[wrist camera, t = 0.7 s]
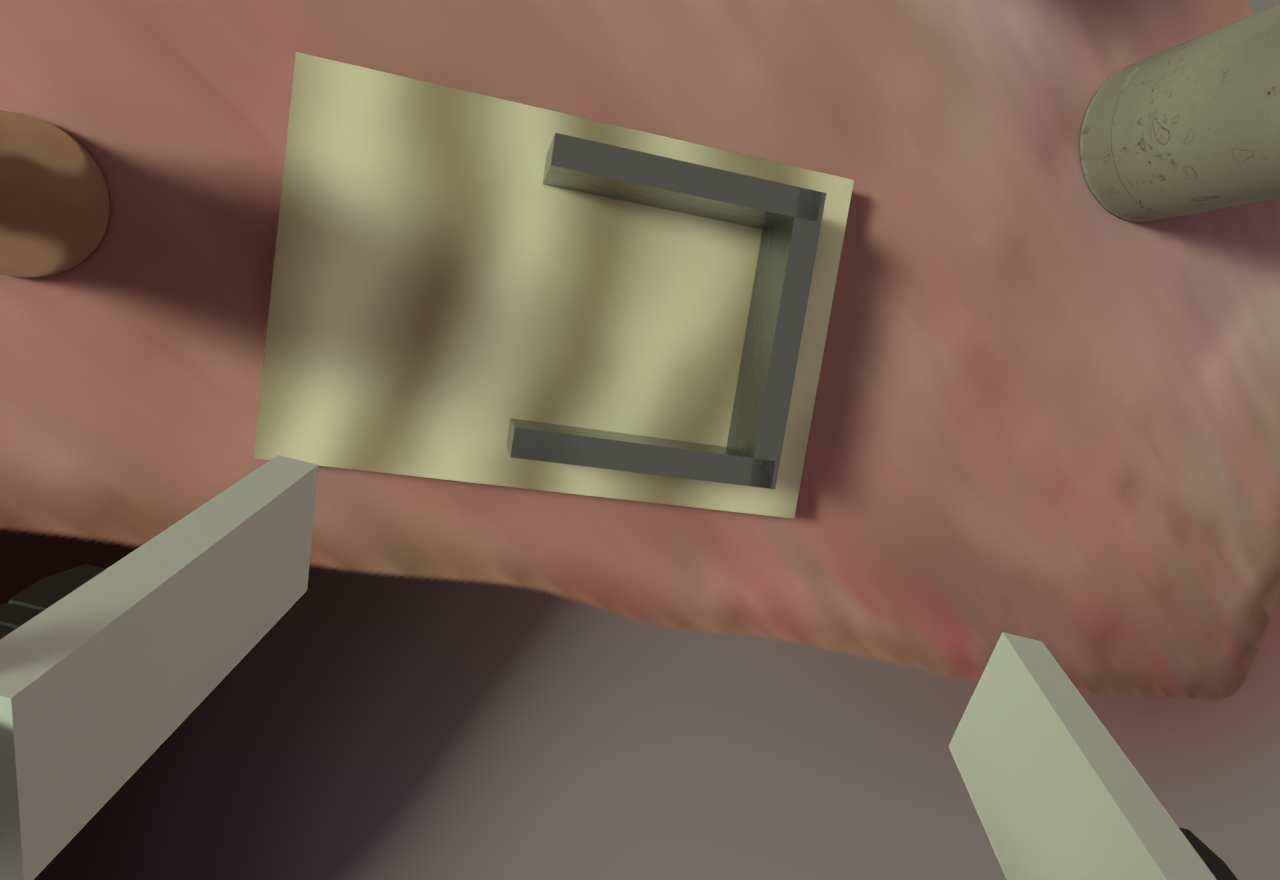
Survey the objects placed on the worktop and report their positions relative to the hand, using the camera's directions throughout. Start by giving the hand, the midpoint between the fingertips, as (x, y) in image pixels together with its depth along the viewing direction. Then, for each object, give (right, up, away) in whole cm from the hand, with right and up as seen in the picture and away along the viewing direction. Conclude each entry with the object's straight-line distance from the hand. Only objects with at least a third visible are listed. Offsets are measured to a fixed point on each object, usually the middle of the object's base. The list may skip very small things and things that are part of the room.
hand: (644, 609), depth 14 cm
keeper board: (-3, +9, +20) cm, 22 cm away
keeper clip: (0, +8, +19) cm, 21 cm away
